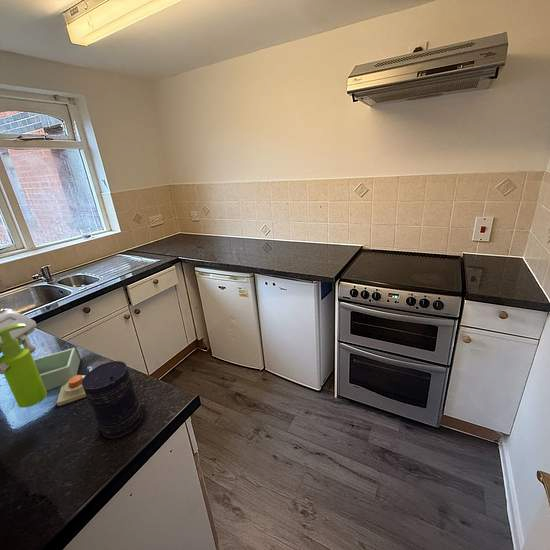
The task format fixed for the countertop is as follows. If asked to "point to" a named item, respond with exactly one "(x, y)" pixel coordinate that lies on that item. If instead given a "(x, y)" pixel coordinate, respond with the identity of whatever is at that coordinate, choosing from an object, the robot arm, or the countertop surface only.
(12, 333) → the robot arm
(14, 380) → the soap dispenser
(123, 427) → the storage jar
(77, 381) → the button
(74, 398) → the control box
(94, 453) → the countertop surface
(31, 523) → the countertop surface
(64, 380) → the box
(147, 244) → the countertop surface
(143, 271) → the countertop surface
